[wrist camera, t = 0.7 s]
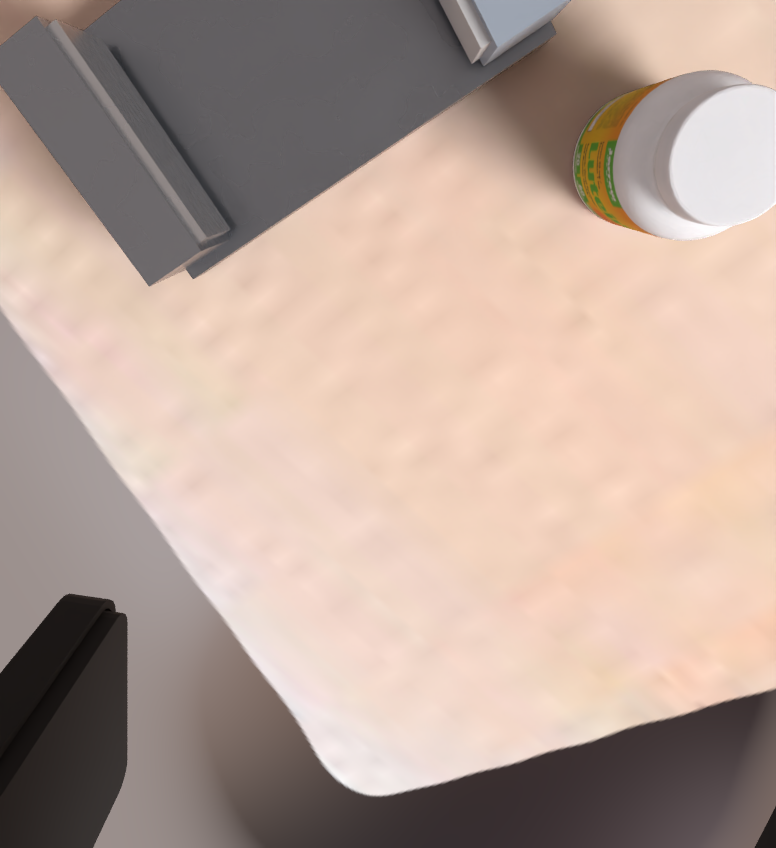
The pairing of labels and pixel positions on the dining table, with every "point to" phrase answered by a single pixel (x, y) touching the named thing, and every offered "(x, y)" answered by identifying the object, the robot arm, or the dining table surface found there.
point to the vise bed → (231, 109)
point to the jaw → (497, 23)
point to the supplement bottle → (681, 156)
